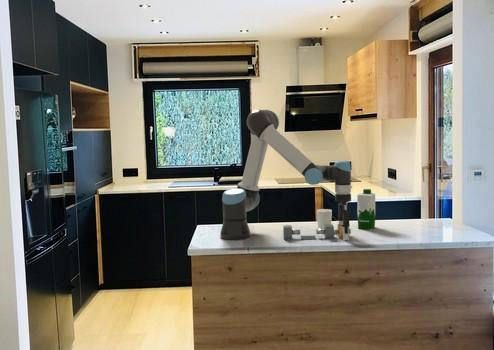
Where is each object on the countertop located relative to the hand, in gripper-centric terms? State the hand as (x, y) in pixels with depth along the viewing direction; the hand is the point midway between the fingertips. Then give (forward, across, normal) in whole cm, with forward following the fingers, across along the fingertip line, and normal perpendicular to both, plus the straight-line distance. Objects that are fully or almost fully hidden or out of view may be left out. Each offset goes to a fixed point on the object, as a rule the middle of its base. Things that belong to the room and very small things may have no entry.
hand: (343, 236), depth 234 cm
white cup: (0, +19, +7) cm, 20 cm away
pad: (0, 0, +17) cm, 17 cm away
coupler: (0, 0, 0) cm, 0 cm away
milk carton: (0, +20, -15) cm, 25 cm away
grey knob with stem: (0, 0, +9) cm, 9 cm away
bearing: (0, 0, +25) cm, 25 cm away
